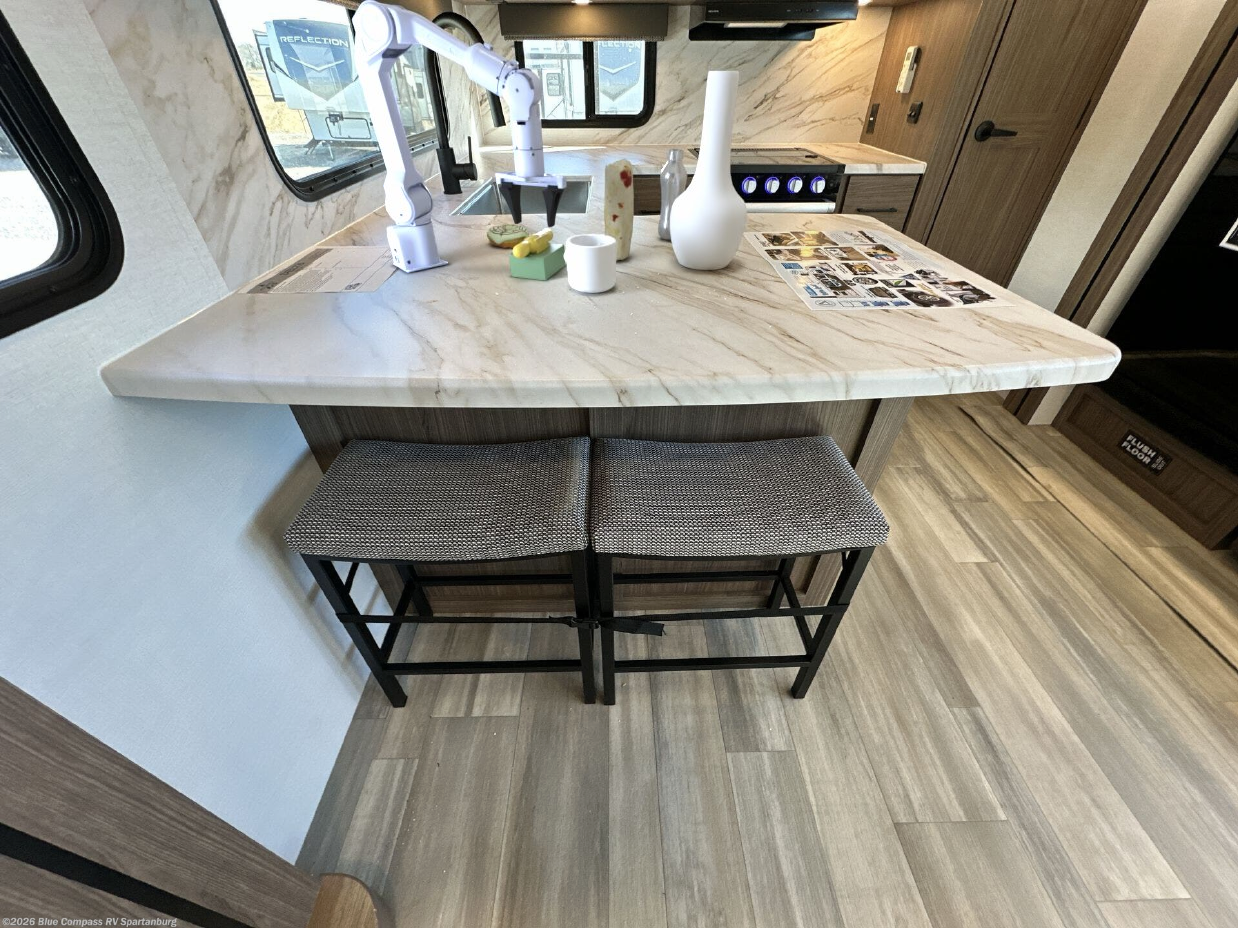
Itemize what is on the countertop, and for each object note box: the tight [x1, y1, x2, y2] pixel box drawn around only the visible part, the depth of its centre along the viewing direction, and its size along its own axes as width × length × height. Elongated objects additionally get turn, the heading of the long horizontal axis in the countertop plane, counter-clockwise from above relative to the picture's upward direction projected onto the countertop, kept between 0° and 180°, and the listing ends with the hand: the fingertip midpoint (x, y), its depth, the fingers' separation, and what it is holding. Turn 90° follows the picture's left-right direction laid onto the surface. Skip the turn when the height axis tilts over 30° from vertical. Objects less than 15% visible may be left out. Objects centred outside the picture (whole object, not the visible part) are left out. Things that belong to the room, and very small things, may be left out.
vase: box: [670, 70, 748, 271], centre depth 106 cm, size 17×17×35 cm
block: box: [508, 242, 566, 281], centre depth 110 cm, size 11×8×4 cm
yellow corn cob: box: [512, 228, 554, 258], centre depth 107 cm, size 16×4×3 cm, turn 162°
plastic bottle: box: [657, 148, 688, 241], centre depth 126 cm, size 6×7×20 cm
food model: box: [603, 158, 635, 261], centre depth 113 cm, size 10×7×20 cm
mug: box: [564, 233, 617, 294], centre depth 101 cm, size 12×10×9 cm
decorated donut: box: [486, 223, 531, 249], centre depth 127 cm, size 10×11×4 cm
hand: (534, 224), depth 105 cm, fingers open, 7 cm apart
